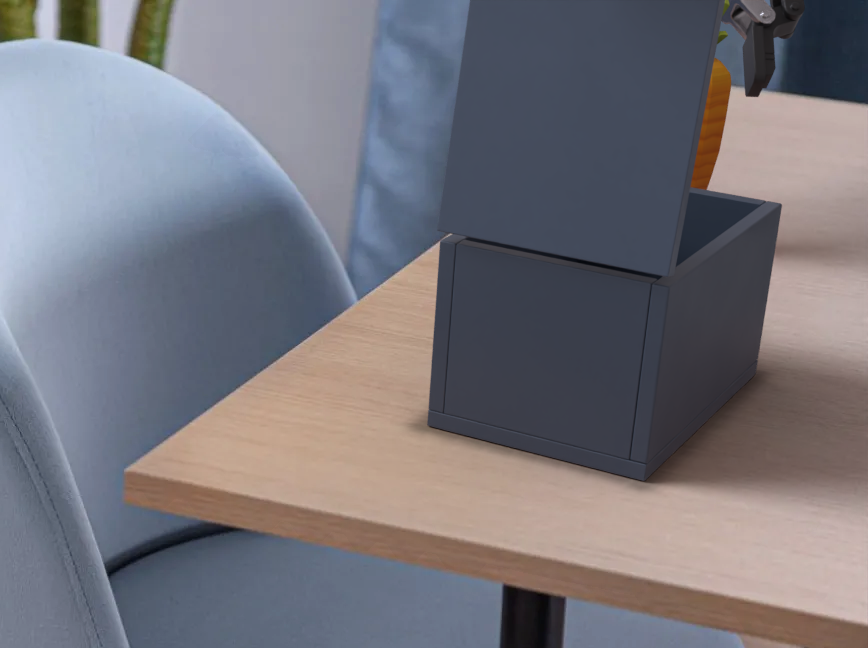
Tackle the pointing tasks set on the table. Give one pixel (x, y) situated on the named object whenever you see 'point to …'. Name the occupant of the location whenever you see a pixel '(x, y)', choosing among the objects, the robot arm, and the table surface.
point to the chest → (602, 340)
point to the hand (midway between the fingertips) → (684, 86)
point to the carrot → (712, 120)
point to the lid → (580, 126)
